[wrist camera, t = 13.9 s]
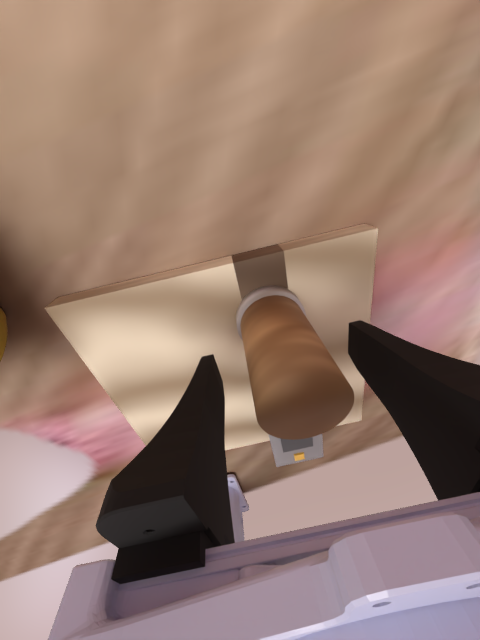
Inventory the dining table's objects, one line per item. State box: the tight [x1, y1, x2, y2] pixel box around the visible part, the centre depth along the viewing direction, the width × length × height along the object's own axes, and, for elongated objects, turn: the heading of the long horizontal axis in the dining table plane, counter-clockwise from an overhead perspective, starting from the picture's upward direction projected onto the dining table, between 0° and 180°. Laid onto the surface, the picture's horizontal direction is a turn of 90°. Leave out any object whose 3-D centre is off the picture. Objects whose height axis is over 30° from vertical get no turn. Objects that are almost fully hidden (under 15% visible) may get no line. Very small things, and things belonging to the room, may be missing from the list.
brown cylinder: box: [236, 285, 354, 440], centre depth 13 cm, size 4×4×8 cm
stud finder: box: [268, 434, 323, 467], centre depth 20 cm, size 6×4×3 cm, turn 12°
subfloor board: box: [44, 224, 378, 450], centre depth 19 cm, size 18×20×2 cm
